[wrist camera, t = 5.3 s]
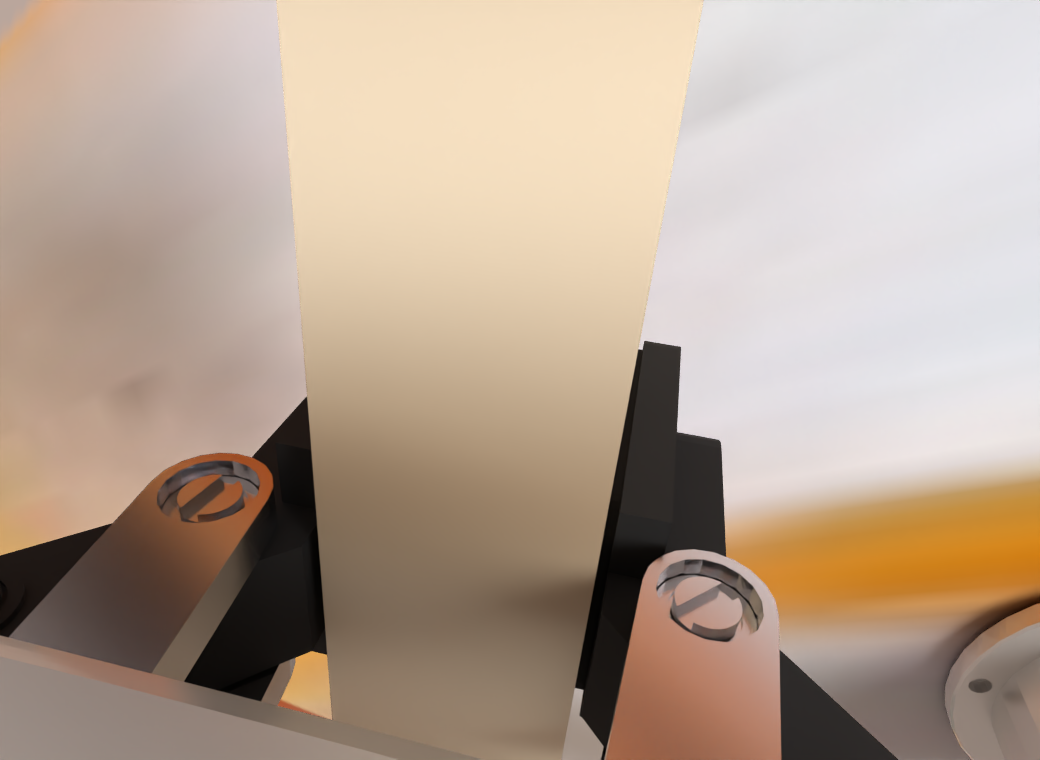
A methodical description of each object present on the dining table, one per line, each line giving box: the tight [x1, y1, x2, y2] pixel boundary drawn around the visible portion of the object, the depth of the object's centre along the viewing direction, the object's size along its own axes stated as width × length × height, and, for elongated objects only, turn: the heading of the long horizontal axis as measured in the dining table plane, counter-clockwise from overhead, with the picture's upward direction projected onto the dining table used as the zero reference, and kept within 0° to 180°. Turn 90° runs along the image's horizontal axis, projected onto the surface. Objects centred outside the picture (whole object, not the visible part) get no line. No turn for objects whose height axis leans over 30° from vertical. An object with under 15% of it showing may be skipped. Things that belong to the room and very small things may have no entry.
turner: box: [276, 0, 704, 760], centre depth 10 cm, size 17×7×5 cm, turn 175°
